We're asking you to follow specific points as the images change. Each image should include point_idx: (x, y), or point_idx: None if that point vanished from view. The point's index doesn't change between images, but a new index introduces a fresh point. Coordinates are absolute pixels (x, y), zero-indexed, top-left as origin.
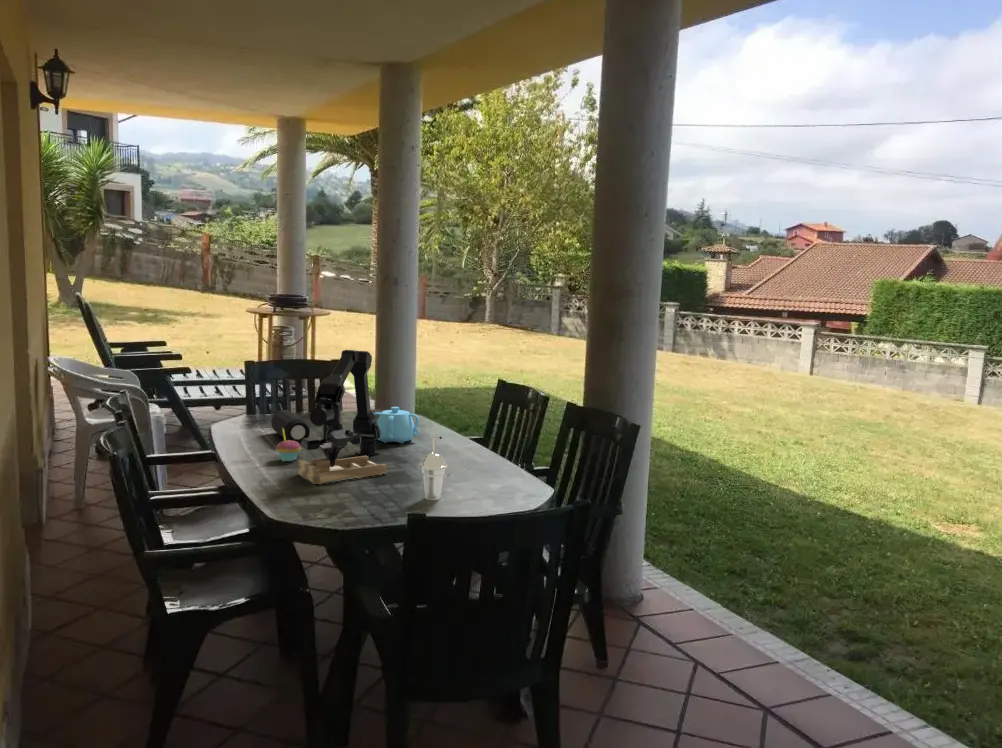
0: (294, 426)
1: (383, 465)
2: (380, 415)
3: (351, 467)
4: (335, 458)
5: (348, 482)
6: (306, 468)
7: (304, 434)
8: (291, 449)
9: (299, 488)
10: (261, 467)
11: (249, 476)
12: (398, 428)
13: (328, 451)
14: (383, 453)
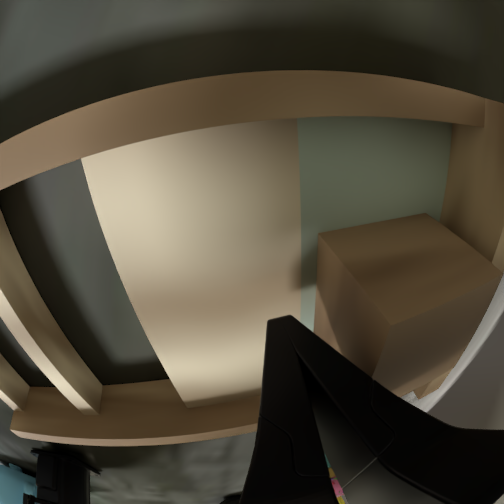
0: None
1: None
2: None
3: (91, 382)
4: (276, 397)
5: (173, 18)
6: None
7: None
8: (334, 476)
9: (498, 90)
10: (409, 399)
11: (483, 324)
12: (12, 496)
13: (475, 437)
14: (22, 448)
